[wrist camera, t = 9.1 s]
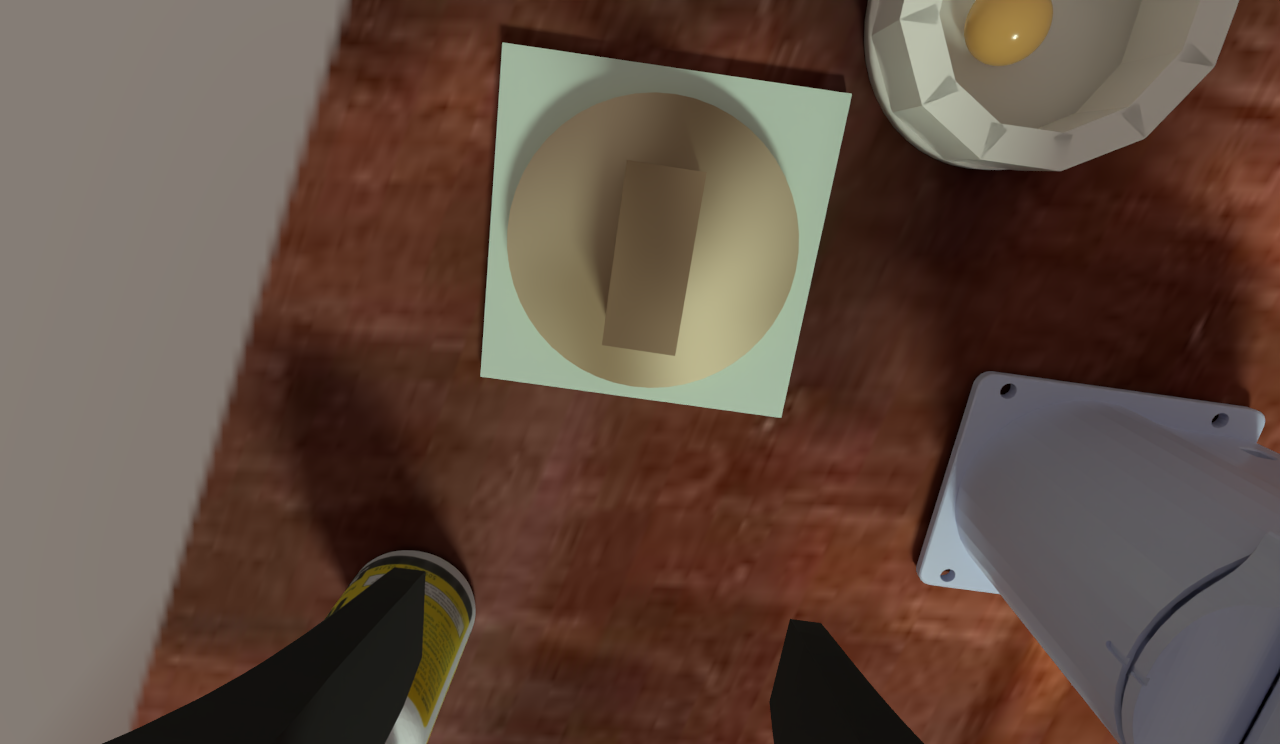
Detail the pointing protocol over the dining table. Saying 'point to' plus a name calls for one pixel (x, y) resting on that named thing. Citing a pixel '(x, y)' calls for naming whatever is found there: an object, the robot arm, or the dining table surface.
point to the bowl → (1036, 74)
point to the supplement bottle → (426, 635)
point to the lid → (653, 240)
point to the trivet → (570, 83)
